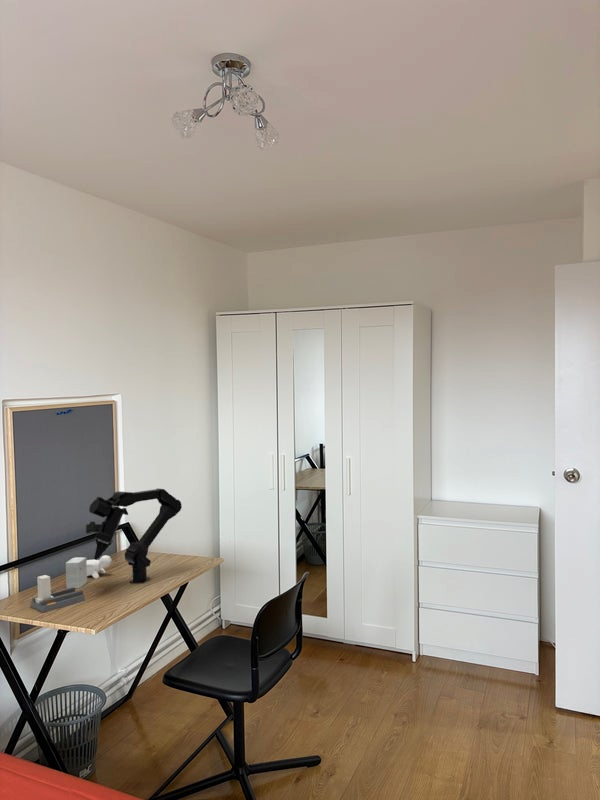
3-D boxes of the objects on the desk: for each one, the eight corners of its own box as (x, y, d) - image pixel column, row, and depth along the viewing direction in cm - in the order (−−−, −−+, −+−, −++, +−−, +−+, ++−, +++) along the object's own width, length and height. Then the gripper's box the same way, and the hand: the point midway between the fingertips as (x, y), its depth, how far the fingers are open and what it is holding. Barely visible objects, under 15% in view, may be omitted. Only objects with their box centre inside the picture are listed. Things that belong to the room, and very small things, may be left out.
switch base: (72, 595, 236) (71, 586, 236) (84, 600, 230) (84, 591, 230) (30, 606, 225) (30, 597, 225) (43, 612, 218) (42, 602, 218)
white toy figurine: (79, 586, 258) (111, 572, 257) (71, 567, 258) (103, 554, 257) (87, 580, 267) (118, 567, 266) (80, 562, 267) (110, 549, 266)
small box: (74, 582, 253) (73, 557, 253) (87, 582, 253) (86, 557, 253) (65, 588, 245) (65, 562, 245) (79, 588, 245) (78, 562, 245)
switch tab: (48, 598, 227) (47, 574, 226) (53, 600, 224) (52, 576, 224) (35, 602, 223) (34, 577, 223) (40, 604, 220) (39, 579, 220)
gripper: (93, 517, 251) (76, 553, 246) (91, 512, 234) (73, 551, 229) (119, 526, 253) (103, 563, 247) (119, 522, 236) (102, 561, 230)
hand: (95, 559), depth 238 cm, fingers closed
